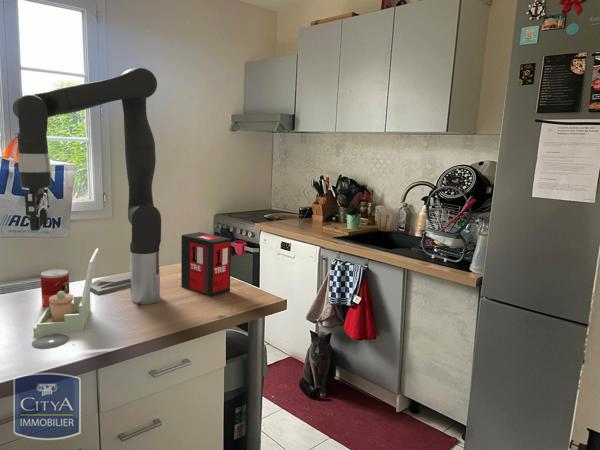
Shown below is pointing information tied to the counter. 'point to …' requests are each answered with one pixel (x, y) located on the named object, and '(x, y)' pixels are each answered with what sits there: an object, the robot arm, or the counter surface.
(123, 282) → the soap mold
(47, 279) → the canned food
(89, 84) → the robot arm
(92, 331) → the counter surface
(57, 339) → the slate saucer
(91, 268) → the glass lid
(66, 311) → the terracotta pot
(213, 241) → the cleaning product box
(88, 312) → the box
